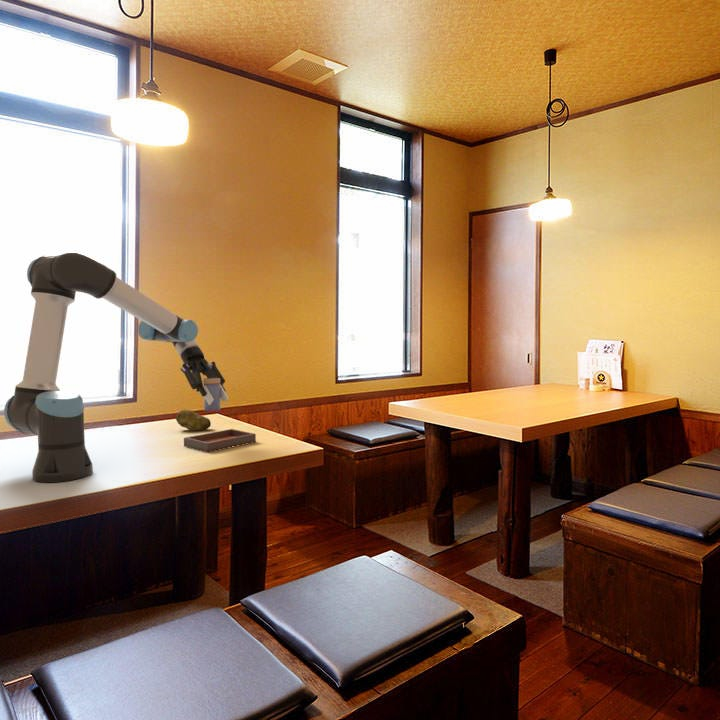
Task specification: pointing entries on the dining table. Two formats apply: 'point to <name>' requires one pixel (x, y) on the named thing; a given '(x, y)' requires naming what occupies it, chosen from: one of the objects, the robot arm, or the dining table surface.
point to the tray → (219, 440)
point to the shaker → (212, 393)
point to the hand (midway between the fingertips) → (218, 401)
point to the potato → (192, 420)
